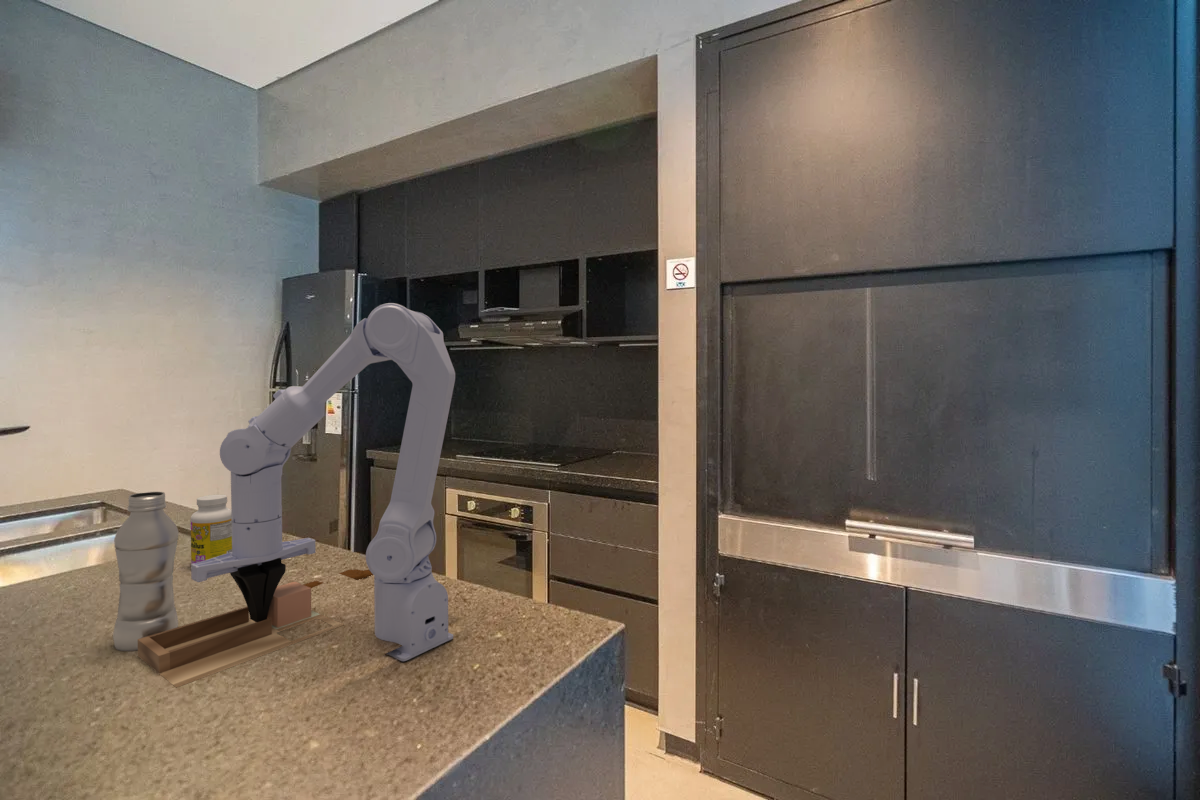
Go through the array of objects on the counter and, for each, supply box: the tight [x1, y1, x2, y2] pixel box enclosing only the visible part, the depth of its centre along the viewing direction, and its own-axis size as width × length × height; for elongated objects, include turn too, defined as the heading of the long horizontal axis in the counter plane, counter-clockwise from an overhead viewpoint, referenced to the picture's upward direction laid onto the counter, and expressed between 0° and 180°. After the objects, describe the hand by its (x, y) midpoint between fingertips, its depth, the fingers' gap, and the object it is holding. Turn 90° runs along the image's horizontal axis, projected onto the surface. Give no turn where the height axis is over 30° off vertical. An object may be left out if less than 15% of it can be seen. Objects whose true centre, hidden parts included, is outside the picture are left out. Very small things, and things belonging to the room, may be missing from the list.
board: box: [137, 606, 344, 689], centre depth 71 cm, size 12×19×4 cm, turn 145°
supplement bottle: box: [190, 494, 232, 565], centre depth 104 cm, size 7×7×13 cm
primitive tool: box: [302, 569, 374, 589], centre depth 92 cm, size 19×6×4 cm, turn 162°
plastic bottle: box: [112, 491, 180, 652], centre depth 71 cm, size 6×7×20 cm
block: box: [267, 581, 312, 628], centre depth 78 cm, size 4×4×4 cm
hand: (258, 619), depth 75 cm, fingers closed
